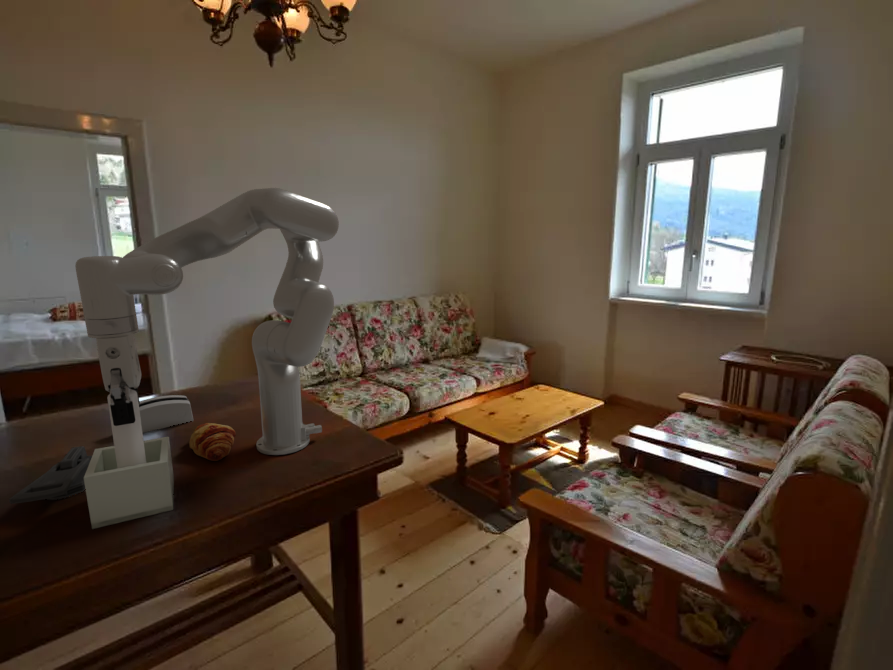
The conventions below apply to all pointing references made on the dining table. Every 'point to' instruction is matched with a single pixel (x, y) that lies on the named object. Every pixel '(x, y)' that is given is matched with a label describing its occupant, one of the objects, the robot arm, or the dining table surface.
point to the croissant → (212, 441)
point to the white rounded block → (164, 412)
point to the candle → (129, 437)
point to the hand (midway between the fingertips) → (127, 414)
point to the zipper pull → (58, 479)
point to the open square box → (129, 485)
